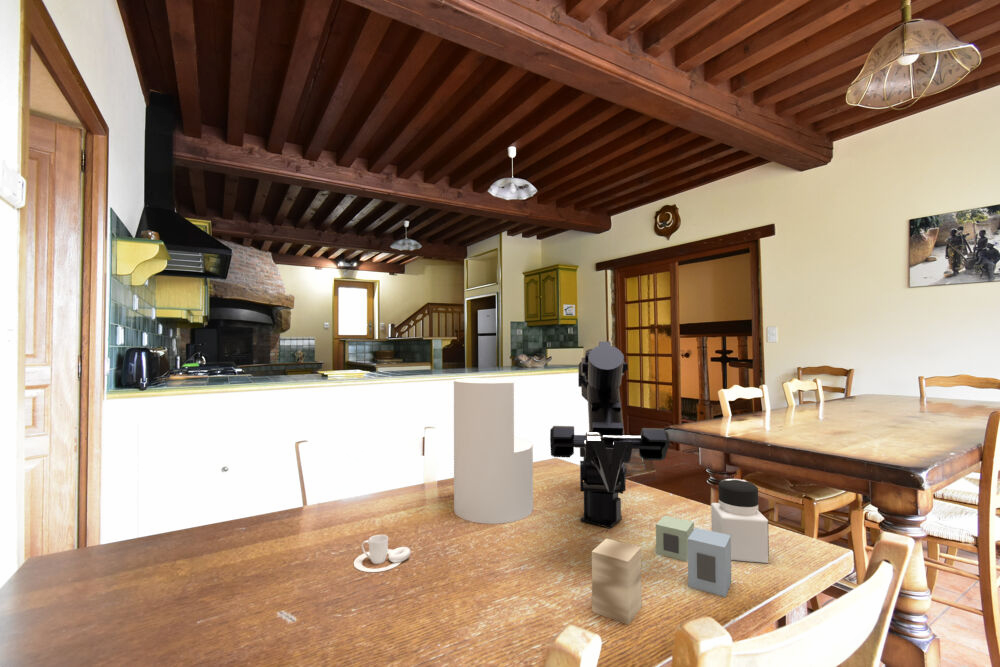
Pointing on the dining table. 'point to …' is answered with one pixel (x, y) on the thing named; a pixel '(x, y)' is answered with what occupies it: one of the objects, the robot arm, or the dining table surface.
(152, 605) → the dining table surface
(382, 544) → the teacup and saucer
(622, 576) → the beech block
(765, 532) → the medicine bottle
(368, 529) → the dining table surface
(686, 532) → the sage numbered block
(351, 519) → the dining table surface
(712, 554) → the slate numbered block
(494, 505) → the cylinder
